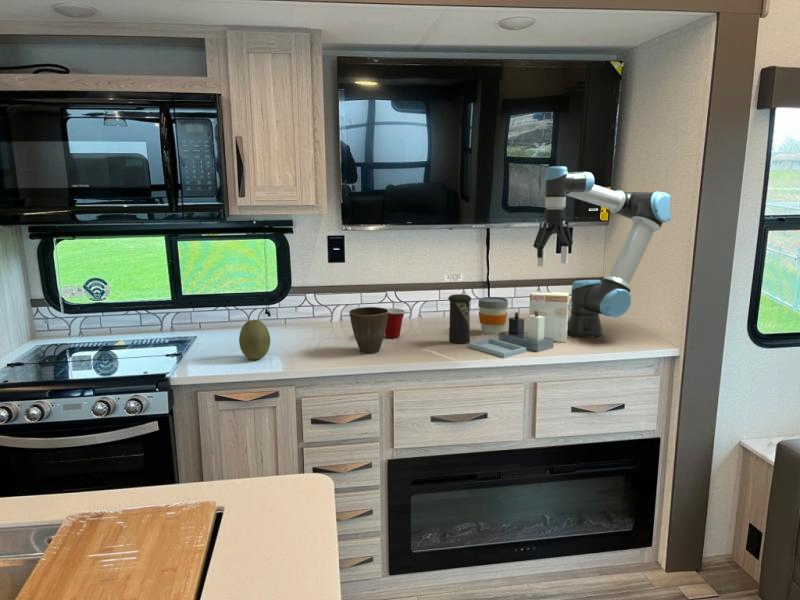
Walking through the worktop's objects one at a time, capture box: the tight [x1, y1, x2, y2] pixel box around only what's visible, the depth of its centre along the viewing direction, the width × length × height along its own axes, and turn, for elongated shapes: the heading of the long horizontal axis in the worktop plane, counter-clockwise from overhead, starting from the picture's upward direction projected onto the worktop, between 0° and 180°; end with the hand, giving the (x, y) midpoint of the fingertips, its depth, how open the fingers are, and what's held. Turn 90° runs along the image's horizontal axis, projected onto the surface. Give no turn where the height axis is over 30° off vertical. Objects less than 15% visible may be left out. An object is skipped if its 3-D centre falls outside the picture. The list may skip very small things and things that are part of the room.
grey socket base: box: [498, 311, 554, 353], centre depth 233 cm, size 9×20×13 cm, turn 37°
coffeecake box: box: [528, 290, 570, 343], centre depth 244 cm, size 15×7×20 cm, turn 70°
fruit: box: [238, 319, 271, 361], centre depth 220 cm, size 11×11×15 cm
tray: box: [467, 337, 528, 359], centre depth 228 cm, size 12×19×2 cm, turn 37°
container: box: [447, 293, 472, 345], centre depth 238 cm, size 9×9×20 cm
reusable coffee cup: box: [477, 296, 509, 336], centre depth 254 cm, size 13×13×15 cm
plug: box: [527, 311, 545, 341], centre depth 229 cm, size 5×4×14 cm
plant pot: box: [348, 306, 388, 355], centre depth 229 cm, size 15×15×16 cm
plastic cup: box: [384, 307, 406, 340], centre depth 250 cm, size 11×11×12 cm
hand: (552, 264), depth 226 cm, fingers open, 13 cm apart
